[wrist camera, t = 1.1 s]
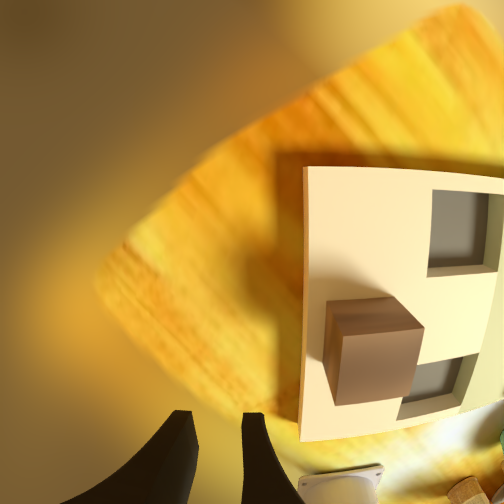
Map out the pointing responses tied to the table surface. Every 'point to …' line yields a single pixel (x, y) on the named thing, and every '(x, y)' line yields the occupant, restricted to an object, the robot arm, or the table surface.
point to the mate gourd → (498, 496)
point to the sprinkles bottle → (468, 493)
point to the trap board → (405, 287)
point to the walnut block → (370, 349)
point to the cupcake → (503, 442)
